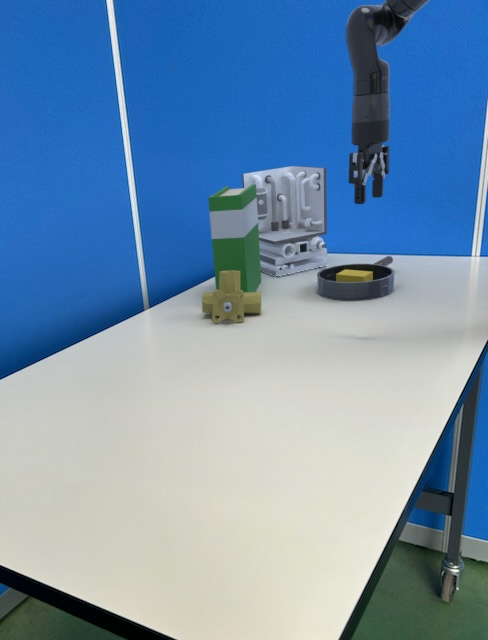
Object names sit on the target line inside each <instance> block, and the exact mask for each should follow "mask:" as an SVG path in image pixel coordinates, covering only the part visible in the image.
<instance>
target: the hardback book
mask: <svg viewBox="0 0 488 640" xmlns="http://www.w3.org/2000/svg"><path fill="white" fill-rule="evenodd" d="M230 186H231V185H226V186H224V187H223V188H221V189H220V190H218V191H215V193H213V194H212V195H210V196H208V197H207V199H208V212H209V222H210V234H211V246H212V247H211V248H212V259H213V269H214V270H213V271H214V281H215V289H218V290H219V272H220V271H233V270H235V271H240V290H242V291H243V292H244V293H245V292H256V291H257V290H258V288H259V287H260V285H261V283H262V272H261V267H260V248H259V230H258V211H257V193H256V184H252V185H251V186H249V187H248V188H243V187H242V188H241V187H240V188H231V187H230ZM260 282H261V283H260ZM259 284H260V285H259ZM257 287H258V288H257ZM256 289H257V290H256ZM255 290H256V291H255Z"/></svg>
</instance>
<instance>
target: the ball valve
mask: <svg viewBox="0 0 488 640" xmlns="http://www.w3.org/2000/svg"><path fill="white" fill-rule="evenodd" d="M201 298H202V300H201V307H202V309H201V310H202V313H203V314H212V317H211V318H212V322H214V323H215V324H219V323H221V322H222V321H223V320H226V319H229V320H230V321H233V322H235V323H244V320H245V314H258V315H259V314H262V291H255V292H245V293H244V292H243V291H242V290H240V271H235V270H233V271H220V272H219V290H218V289H216V288H215V289H214V290H213V291H208V292H202V297H201ZM238 316H240V318H238Z"/></svg>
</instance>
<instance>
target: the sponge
mask: <svg viewBox="0 0 488 640" xmlns="http://www.w3.org/2000/svg"><path fill="white" fill-rule="evenodd" d="M367 281H373V272H371V271H358V270H343V271H341V272H339V273H337V274H336V282H367Z"/></svg>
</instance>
